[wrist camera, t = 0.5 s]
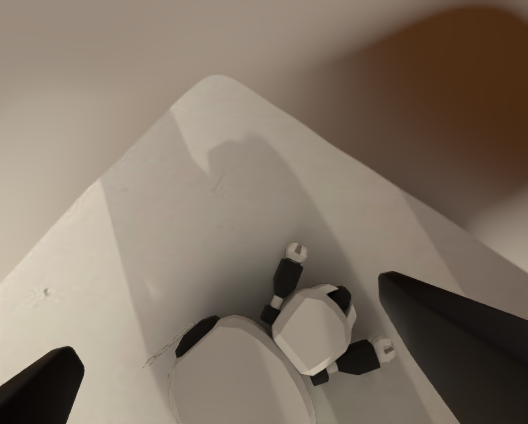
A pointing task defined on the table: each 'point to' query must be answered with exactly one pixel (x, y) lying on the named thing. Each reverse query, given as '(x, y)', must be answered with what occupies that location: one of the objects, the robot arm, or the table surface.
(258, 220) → the table surface
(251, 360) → the robot toy
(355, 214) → the table surface
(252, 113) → the table surface
